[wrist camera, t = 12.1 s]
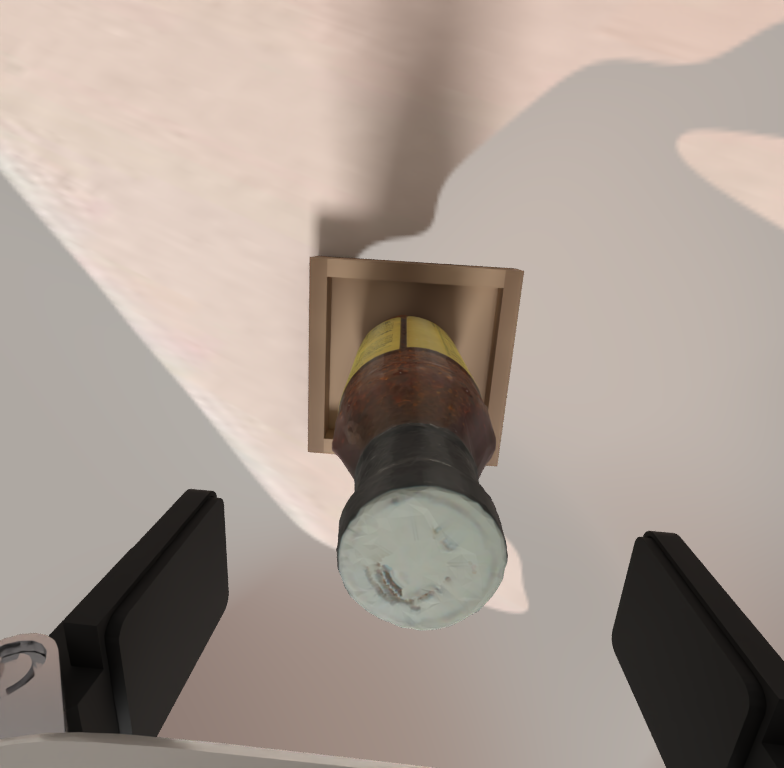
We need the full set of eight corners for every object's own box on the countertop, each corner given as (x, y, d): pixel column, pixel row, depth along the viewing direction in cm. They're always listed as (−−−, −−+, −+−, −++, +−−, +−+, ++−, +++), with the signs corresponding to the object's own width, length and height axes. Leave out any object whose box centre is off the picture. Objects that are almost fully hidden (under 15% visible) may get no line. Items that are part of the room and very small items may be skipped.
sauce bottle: (362, 408, 31) (276, 674, 12) (355, 313, 29) (241, 448, 10) (463, 405, 31) (539, 675, 12) (462, 308, 29) (550, 439, 10)
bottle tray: (514, 268, 29) (524, 271, 26) (491, 449, 32) (497, 466, 30) (318, 255, 29) (309, 257, 27) (315, 436, 33) (307, 452, 30)
